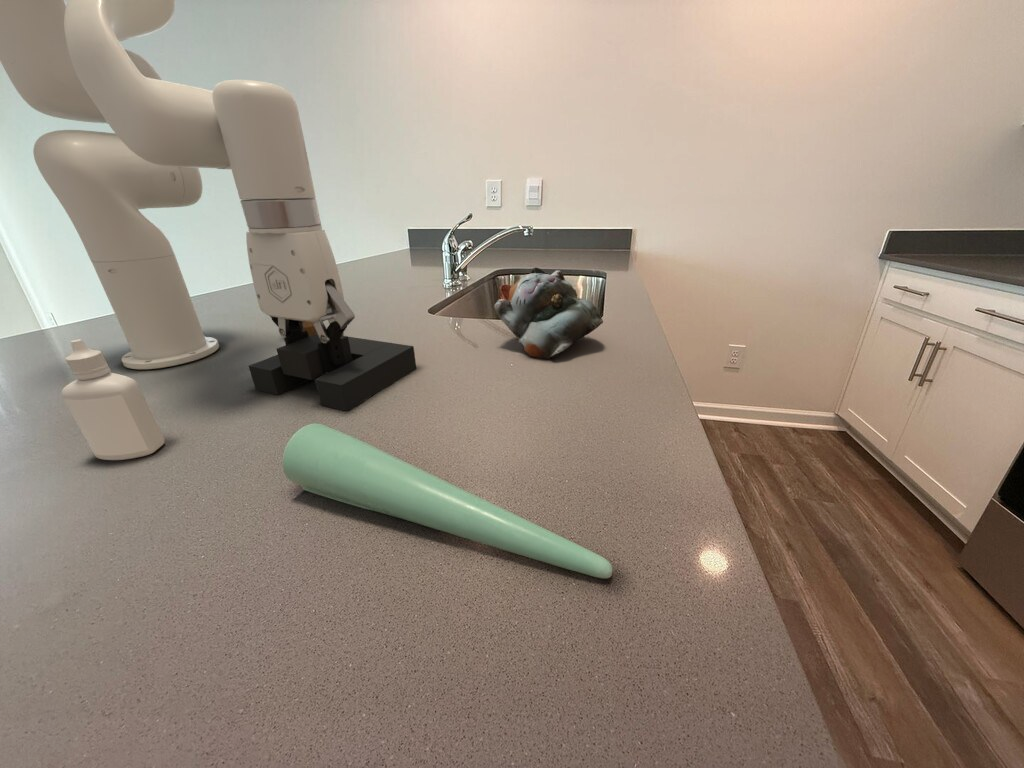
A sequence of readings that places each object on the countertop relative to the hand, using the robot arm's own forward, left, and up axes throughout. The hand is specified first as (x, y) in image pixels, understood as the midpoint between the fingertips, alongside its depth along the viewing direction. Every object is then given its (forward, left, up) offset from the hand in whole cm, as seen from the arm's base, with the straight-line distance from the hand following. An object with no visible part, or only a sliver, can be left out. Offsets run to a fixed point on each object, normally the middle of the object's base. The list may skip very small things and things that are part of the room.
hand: (318, 364), depth 54 cm
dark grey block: (0, 0, 0) cm, 0 cm away
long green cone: (+28, -15, -3) cm, 32 cm away
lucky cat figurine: (+23, +26, -3) cm, 35 cm away
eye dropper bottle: (-6, -19, -3) cm, 20 cm away
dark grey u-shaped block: (0, +3, -3) cm, 4 cm away
